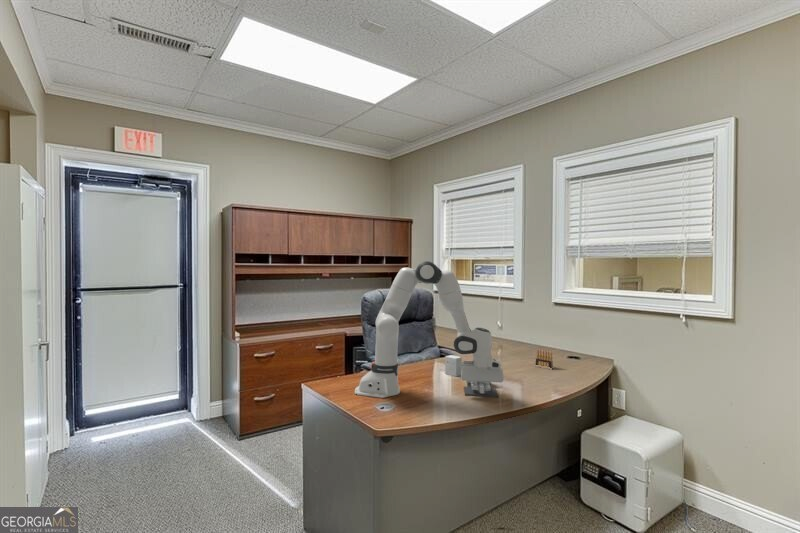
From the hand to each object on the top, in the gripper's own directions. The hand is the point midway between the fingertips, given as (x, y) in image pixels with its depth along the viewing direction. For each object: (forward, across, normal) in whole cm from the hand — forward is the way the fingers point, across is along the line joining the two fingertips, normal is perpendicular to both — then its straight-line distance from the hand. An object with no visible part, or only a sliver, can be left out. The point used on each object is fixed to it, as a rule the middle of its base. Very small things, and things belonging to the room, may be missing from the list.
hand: (481, 390), depth 195 cm
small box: (+4, -13, +38) cm, 40 cm away
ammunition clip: (+3, +44, +64) cm, 78 cm away
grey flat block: (+1, 0, +4) cm, 5 cm away
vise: (+3, 0, +21) cm, 21 cm away
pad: (+3, 0, +7) cm, 8 cm away
